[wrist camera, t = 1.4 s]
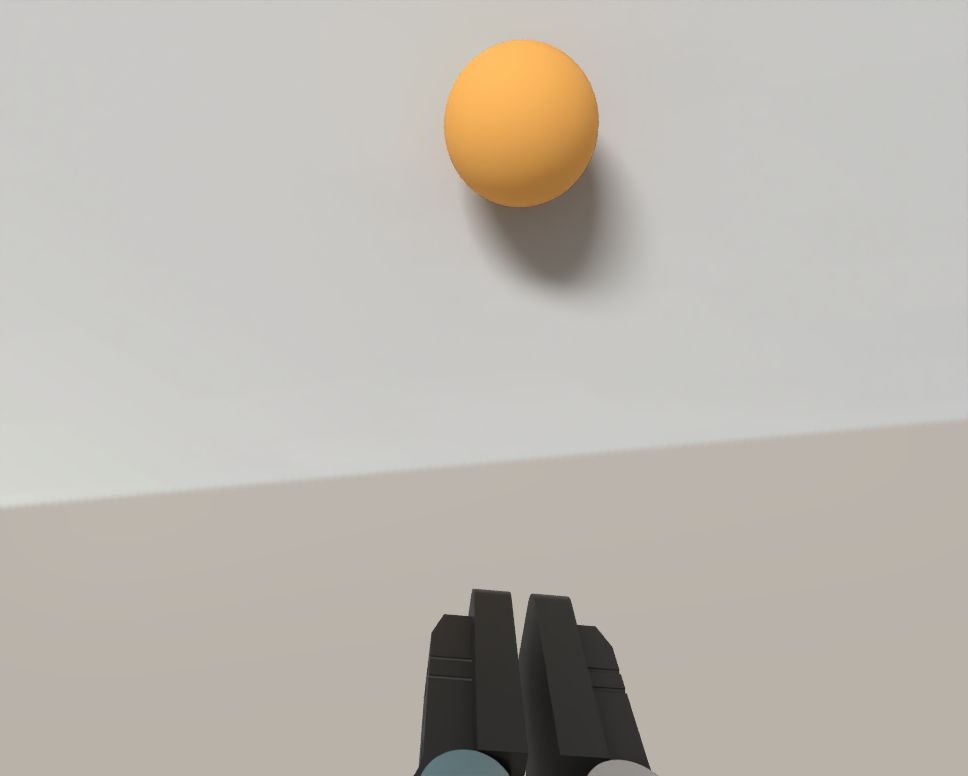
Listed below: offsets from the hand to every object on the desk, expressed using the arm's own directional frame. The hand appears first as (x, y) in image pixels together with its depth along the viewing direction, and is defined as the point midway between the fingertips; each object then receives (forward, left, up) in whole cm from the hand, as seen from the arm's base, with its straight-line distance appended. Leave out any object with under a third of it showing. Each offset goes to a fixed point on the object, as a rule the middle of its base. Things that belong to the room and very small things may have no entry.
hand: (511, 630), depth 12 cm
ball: (0, -10, -14) cm, 17 cm away
